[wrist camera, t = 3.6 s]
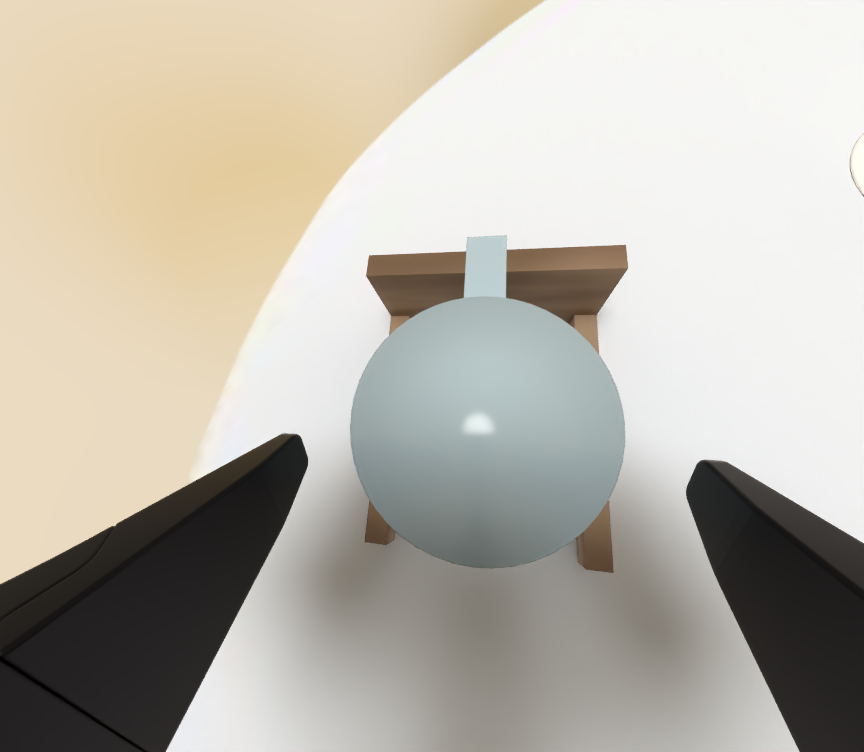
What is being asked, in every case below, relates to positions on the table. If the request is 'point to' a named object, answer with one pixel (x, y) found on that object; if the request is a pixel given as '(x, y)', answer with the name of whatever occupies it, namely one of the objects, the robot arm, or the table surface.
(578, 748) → the table surface
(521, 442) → the jug
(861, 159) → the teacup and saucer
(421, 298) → the dock
